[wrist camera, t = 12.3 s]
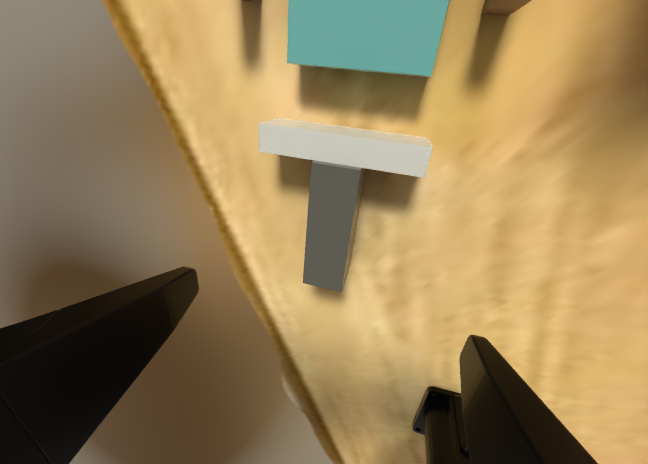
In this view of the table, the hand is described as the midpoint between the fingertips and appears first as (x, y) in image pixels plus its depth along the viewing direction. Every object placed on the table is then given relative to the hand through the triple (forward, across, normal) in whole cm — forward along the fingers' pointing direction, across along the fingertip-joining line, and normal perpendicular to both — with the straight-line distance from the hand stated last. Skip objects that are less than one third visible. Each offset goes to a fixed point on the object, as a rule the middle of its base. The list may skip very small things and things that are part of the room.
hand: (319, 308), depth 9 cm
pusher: (+11, +1, 0) cm, 11 cm away
